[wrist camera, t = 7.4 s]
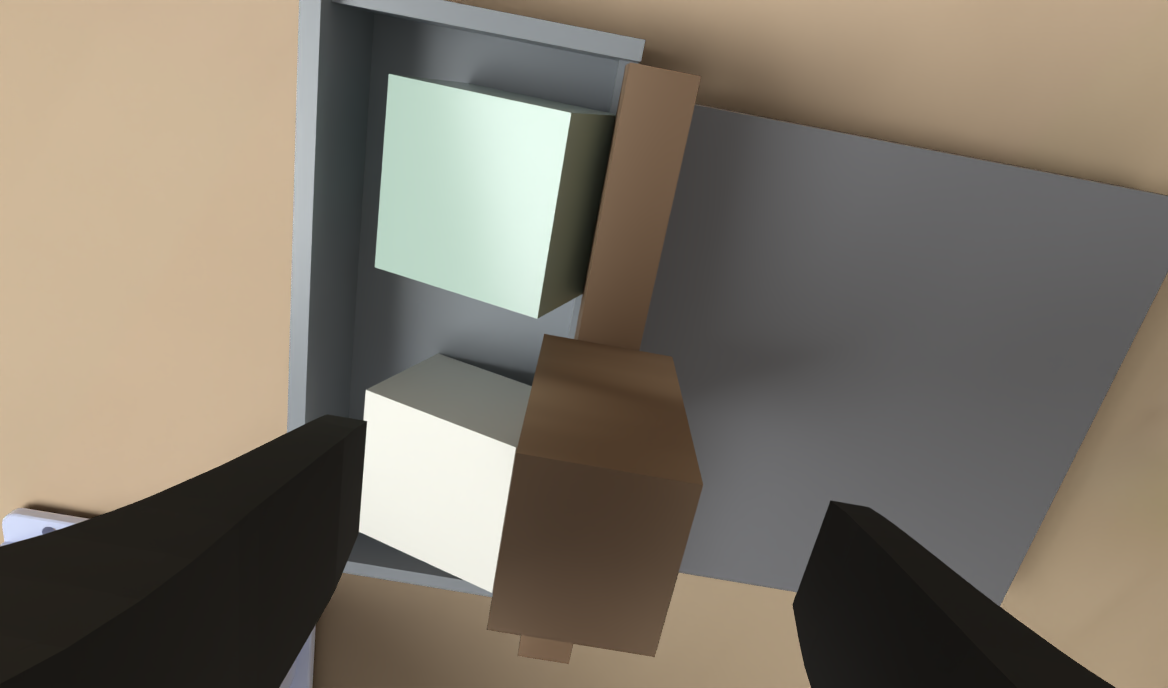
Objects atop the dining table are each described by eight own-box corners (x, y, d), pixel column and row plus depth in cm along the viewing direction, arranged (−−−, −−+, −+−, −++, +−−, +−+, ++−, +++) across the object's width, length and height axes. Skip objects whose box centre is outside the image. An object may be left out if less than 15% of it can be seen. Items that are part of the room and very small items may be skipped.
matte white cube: (424, 478, 20) (355, 529, 18) (438, 353, 19) (365, 389, 16) (545, 528, 19) (492, 593, 16) (570, 400, 18) (516, 447, 15)
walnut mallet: (507, 566, 19) (449, 853, 12) (594, 58, 14) (584, 40, 7) (597, 581, 19) (592, 874, 12) (713, 82, 14) (816, 86, 7)
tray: (333, 499, 21) (283, 576, 18) (362, -8, 16) (299, -30, 13) (544, 534, 21) (533, 617, 18) (638, 46, 16) (646, 38, 13)
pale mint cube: (449, 246, 18) (374, 267, 15) (468, 82, 16) (388, 74, 14) (592, 288, 17) (537, 319, 14) (625, 115, 15) (571, 112, 13)
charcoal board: (557, 509, 21) (553, 551, 19) (639, 92, 17) (644, 94, 15) (956, 576, 21) (990, 624, 20) (1137, 189, 17) (1202, 202, 15)
